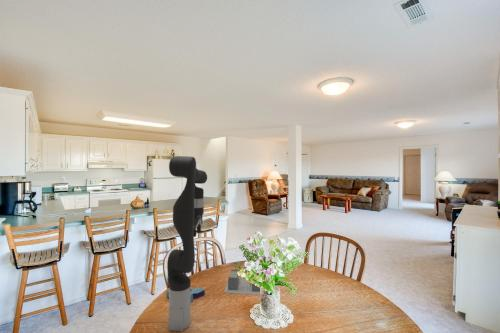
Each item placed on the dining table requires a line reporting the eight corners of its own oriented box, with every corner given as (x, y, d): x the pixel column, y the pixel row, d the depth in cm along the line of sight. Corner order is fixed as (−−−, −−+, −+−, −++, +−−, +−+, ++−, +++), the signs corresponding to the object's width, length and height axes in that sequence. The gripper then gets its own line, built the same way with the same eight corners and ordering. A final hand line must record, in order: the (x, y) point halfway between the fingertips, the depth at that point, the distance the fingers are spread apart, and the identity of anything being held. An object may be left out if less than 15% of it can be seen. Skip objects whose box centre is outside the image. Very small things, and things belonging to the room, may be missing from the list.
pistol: (206, 294, 137) (186, 307, 124) (186, 286, 145) (165, 298, 133) (206, 287, 137) (186, 299, 124) (187, 279, 145) (166, 290, 133)
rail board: (263, 295, 137) (264, 281, 137) (224, 292, 138) (224, 278, 138) (264, 282, 151) (264, 270, 150) (228, 280, 152) (228, 268, 152)
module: (250, 287, 142) (250, 272, 142) (239, 286, 143) (240, 272, 143) (250, 283, 146) (250, 269, 146) (240, 283, 147) (240, 269, 146)
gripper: (199, 208, 133) (199, 238, 134) (206, 204, 148) (206, 231, 148) (186, 208, 134) (185, 237, 134) (194, 203, 148) (194, 230, 149)
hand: (196, 234), depth 141 cm, fingers open, 8 cm apart
